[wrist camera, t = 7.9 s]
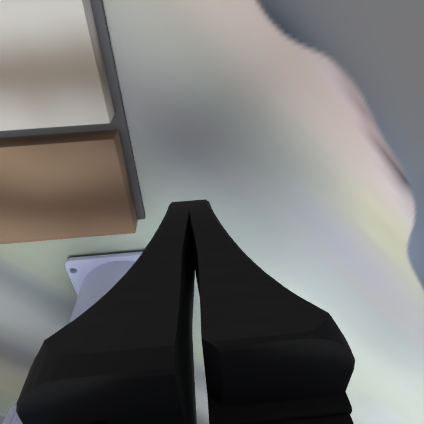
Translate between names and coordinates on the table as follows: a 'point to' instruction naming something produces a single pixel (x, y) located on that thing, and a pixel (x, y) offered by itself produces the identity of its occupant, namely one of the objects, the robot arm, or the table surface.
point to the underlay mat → (119, 117)
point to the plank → (51, 66)
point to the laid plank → (64, 187)
